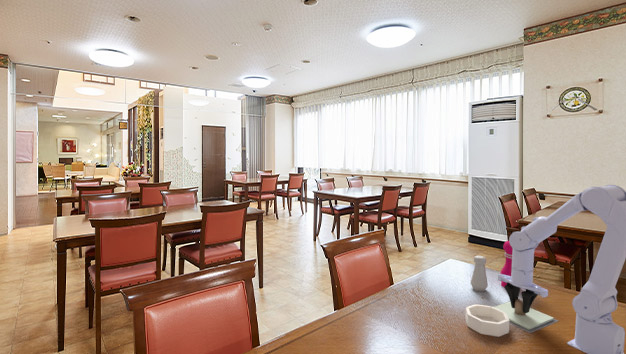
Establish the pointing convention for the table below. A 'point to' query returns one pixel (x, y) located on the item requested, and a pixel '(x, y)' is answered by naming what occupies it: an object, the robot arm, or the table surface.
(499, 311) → the bowl
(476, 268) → the salt shaker
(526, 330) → the mat
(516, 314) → the cover
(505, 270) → the pepper mill
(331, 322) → the table surface
